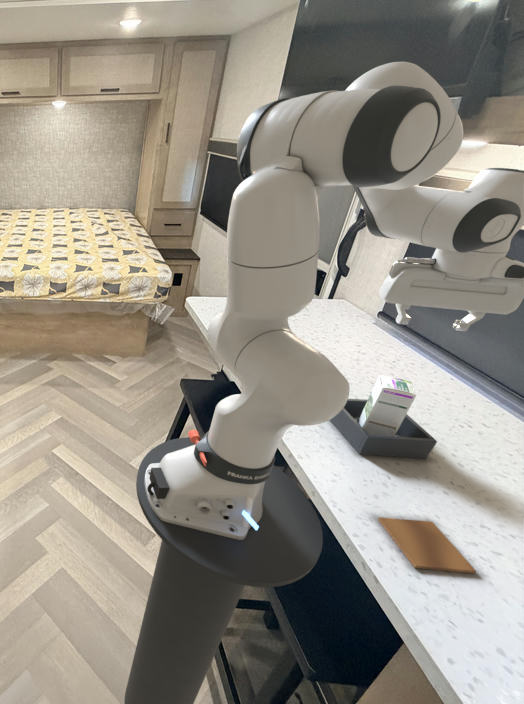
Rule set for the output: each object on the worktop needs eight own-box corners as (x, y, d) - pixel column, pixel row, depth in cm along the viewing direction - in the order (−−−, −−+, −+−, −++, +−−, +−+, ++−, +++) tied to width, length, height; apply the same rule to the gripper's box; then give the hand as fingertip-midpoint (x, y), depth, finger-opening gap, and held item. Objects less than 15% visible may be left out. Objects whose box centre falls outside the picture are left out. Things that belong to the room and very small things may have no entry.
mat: (414, 568, 65) (415, 565, 65) (377, 519, 73) (378, 517, 73) (474, 573, 64) (476, 571, 64) (430, 523, 72) (432, 521, 72)
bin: (358, 454, 87) (367, 437, 85) (324, 413, 99) (331, 397, 97) (426, 458, 86) (437, 441, 83) (383, 416, 98) (391, 400, 95)
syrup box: (389, 446, 89) (419, 395, 82) (357, 437, 92) (383, 386, 85) (386, 431, 93) (413, 381, 86) (354, 422, 96) (379, 373, 89)
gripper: (404, 261, 74) (374, 326, 81) (549, 272, 68) (504, 341, 75) (389, 251, 80) (362, 313, 86) (522, 260, 74) (482, 326, 80)
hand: (429, 326), depth 80 cm, fingers open, 8 cm apart
